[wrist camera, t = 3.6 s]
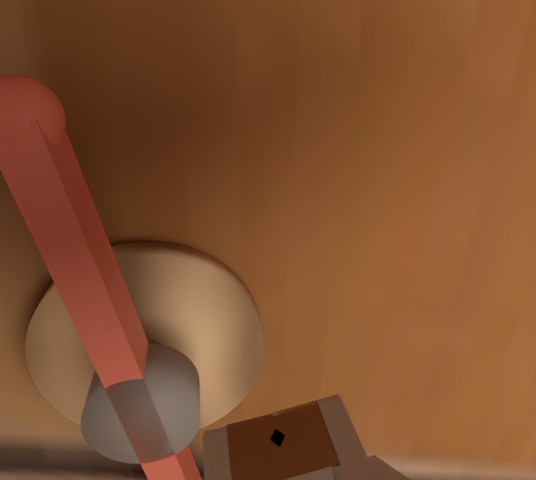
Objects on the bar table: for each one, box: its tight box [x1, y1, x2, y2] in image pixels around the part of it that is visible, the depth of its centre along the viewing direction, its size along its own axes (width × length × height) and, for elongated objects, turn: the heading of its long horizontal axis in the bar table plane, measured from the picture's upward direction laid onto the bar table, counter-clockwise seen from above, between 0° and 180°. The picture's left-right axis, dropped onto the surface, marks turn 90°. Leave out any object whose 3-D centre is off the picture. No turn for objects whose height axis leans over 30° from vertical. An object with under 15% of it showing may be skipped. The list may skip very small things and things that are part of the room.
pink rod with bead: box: [0, 75, 202, 480], centre depth 20 cm, size 5×29×3 cm, turn 11°
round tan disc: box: [25, 241, 264, 429], centre depth 23 cm, size 12×12×3 cm
